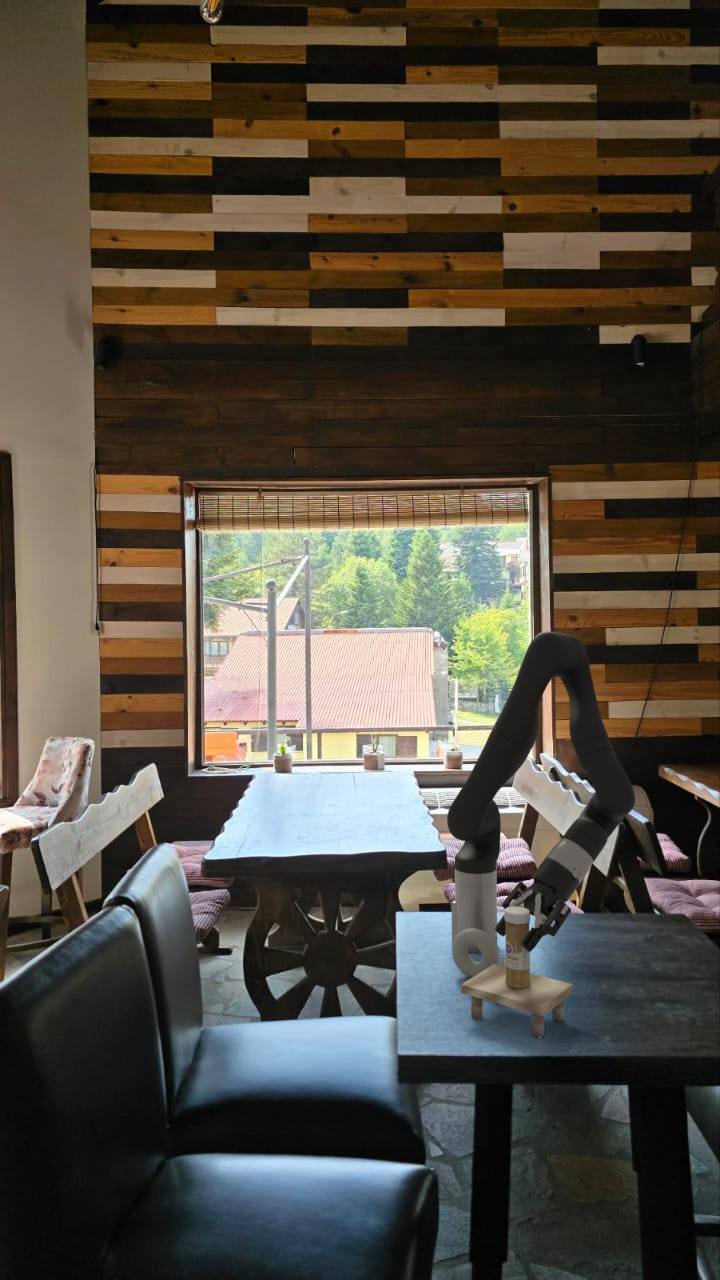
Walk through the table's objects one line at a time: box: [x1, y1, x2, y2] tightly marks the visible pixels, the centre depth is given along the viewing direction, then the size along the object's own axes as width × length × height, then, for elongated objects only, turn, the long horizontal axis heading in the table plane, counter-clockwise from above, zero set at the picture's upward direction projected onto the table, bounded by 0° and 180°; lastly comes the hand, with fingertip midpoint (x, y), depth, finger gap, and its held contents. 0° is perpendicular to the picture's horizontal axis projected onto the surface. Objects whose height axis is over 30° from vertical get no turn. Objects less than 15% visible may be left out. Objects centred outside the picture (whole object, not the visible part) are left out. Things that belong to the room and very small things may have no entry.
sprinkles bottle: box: [503, 907, 531, 989], centre depth 149 cm, size 5×5×14 cm
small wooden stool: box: [460, 964, 574, 1039], centre depth 149 cm, size 16×12×6 cm
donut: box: [451, 928, 500, 979], centre depth 167 cm, size 10×4×10 cm, turn 57°
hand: (511, 940), depth 149 cm, fingers open, 8 cm apart
